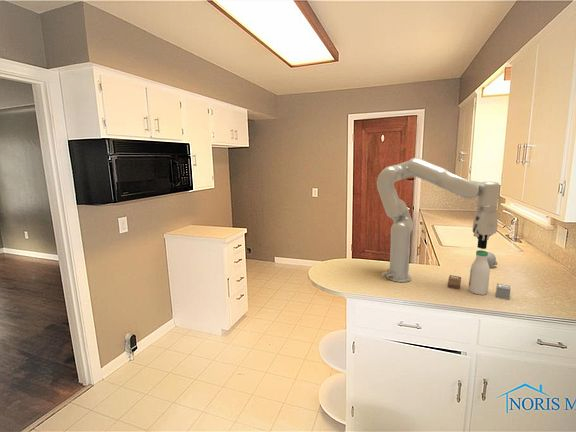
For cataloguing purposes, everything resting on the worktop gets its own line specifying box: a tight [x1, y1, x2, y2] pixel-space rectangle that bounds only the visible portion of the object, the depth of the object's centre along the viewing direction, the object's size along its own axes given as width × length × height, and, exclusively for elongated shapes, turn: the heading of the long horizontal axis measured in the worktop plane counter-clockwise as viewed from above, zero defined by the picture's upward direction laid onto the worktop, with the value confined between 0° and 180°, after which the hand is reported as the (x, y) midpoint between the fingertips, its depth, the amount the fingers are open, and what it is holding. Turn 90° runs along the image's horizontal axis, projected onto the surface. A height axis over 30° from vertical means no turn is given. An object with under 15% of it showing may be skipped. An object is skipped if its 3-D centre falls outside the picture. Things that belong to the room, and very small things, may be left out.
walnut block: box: [447, 274, 462, 291], centre depth 148 cm, size 5×5×5 cm
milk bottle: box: [468, 249, 491, 296], centre depth 141 cm, size 8×8×20 cm
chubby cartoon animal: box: [487, 251, 498, 269], centre depth 174 cm, size 7×12×8 cm, turn 109°
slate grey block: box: [495, 282, 511, 301], centre depth 137 cm, size 5×5×5 cm
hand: (481, 248), depth 139 cm, fingers closed
